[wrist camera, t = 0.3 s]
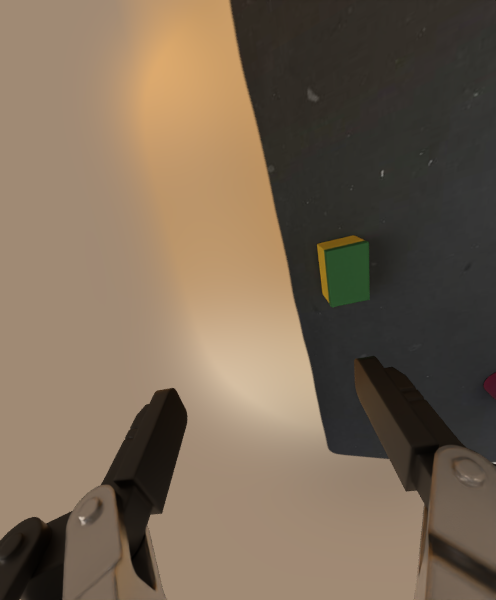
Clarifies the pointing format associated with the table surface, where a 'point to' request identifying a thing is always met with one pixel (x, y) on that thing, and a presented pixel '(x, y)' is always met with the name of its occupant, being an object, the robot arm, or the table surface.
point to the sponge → (344, 270)
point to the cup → (491, 385)
